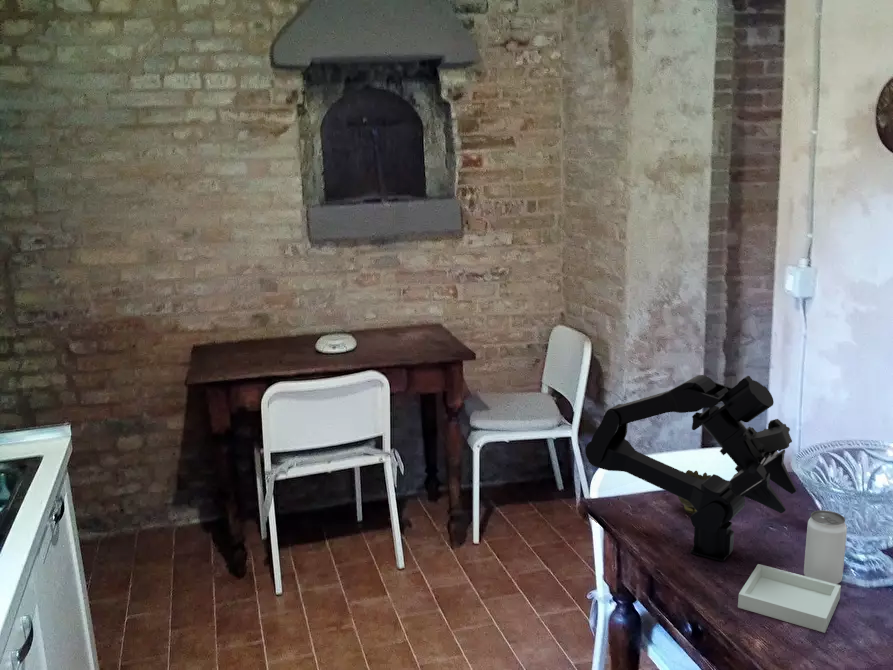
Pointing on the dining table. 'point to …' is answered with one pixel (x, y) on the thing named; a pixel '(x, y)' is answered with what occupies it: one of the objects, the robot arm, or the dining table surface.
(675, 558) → the dining table surface
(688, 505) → the olive piece
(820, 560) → the can
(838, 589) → the tray
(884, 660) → the dining table surface
